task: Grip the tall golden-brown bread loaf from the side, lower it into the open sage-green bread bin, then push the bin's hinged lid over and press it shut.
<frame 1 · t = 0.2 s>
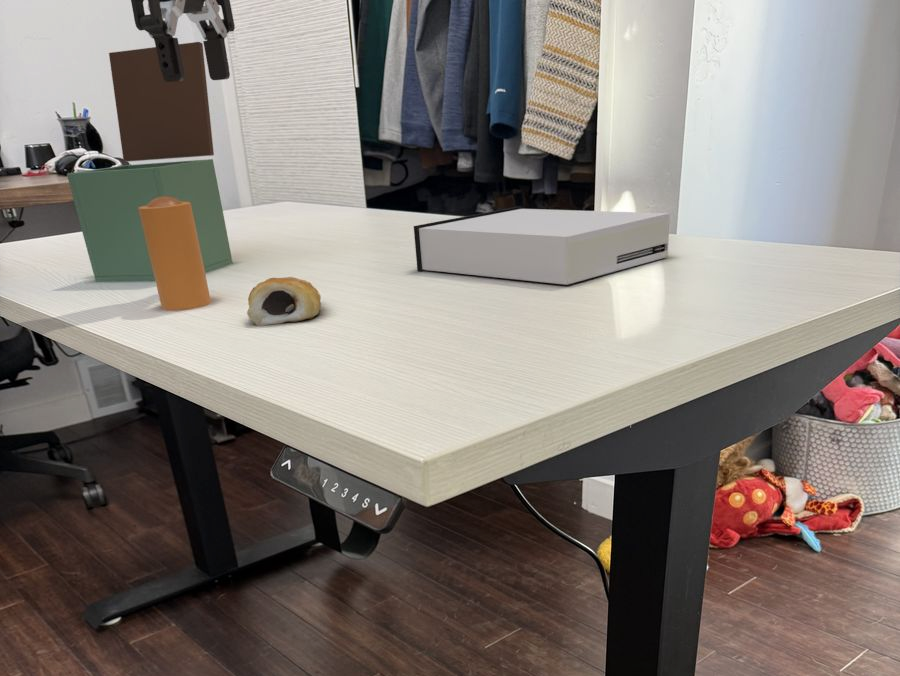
hand: (198, 80, 92), 21 cm above the table, tool pointing down, fingers open, 8 cm apart
disc drive: (539, 267, 98), on the table
pastry: (287, 318, 84), on the table
bread bin: (165, 273, 114), on the table
bin lid: (161, 104, 110), point 19 cm above the table, hinge at 100.0°
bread: (186, 306, 93), on the table
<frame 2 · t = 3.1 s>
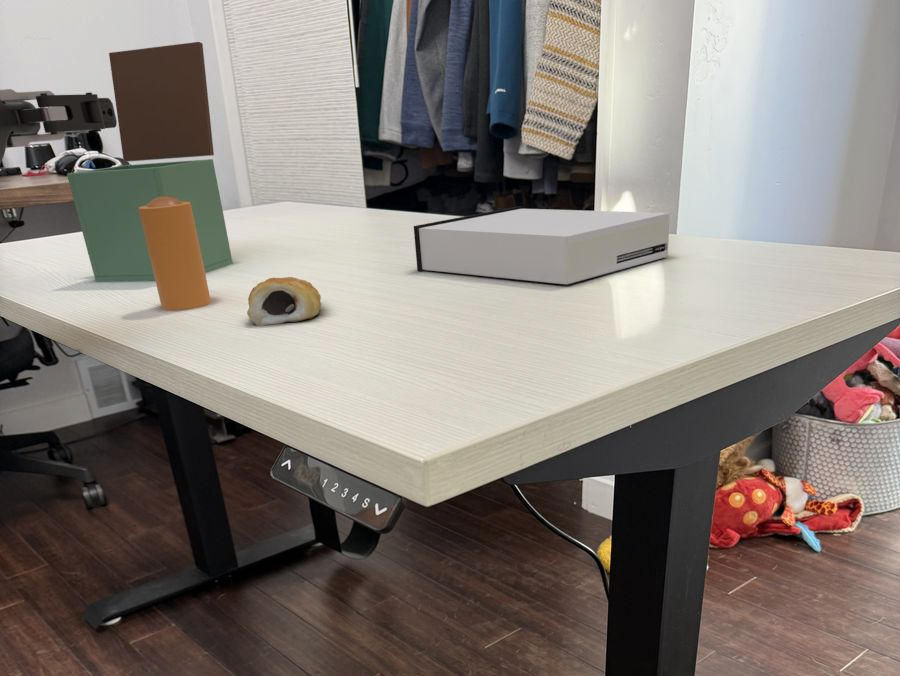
hand: (70, 117, 75), 18 cm above the table, tool horizontal, fingers open, 8 cm apart
nothing on the table moved.
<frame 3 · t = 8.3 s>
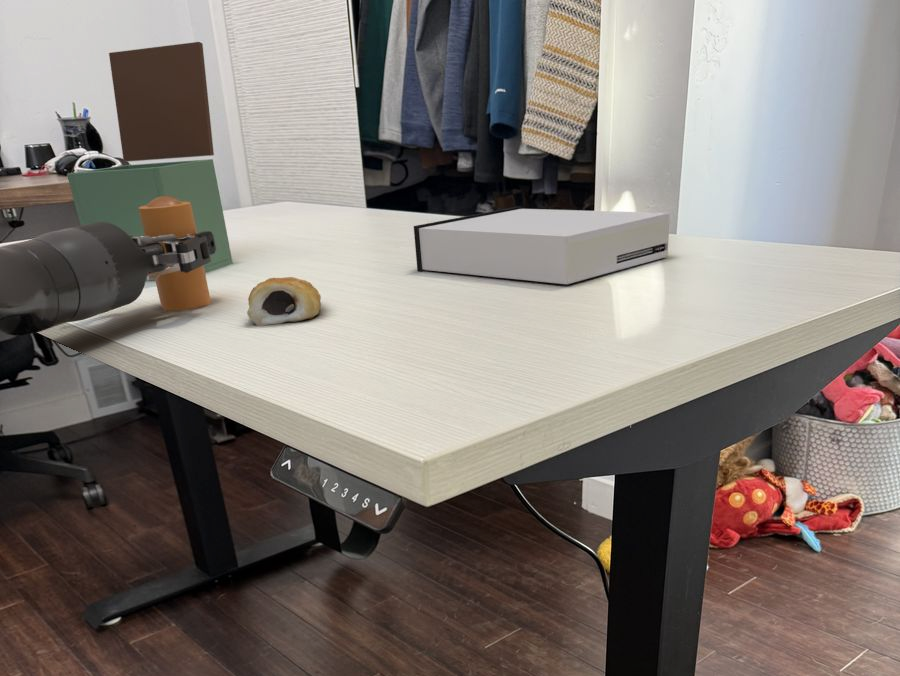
hand: (187, 242, 92), 6 cm above the table, tool horizontal, fingers closed on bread, 5 cm apart
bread: (186, 306, 93), on the table, touching gripper
everything else where it was.
when the fingers open (16 cm above the table, at t = 19.7 s): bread drops 9 cm, resting on bread bin.
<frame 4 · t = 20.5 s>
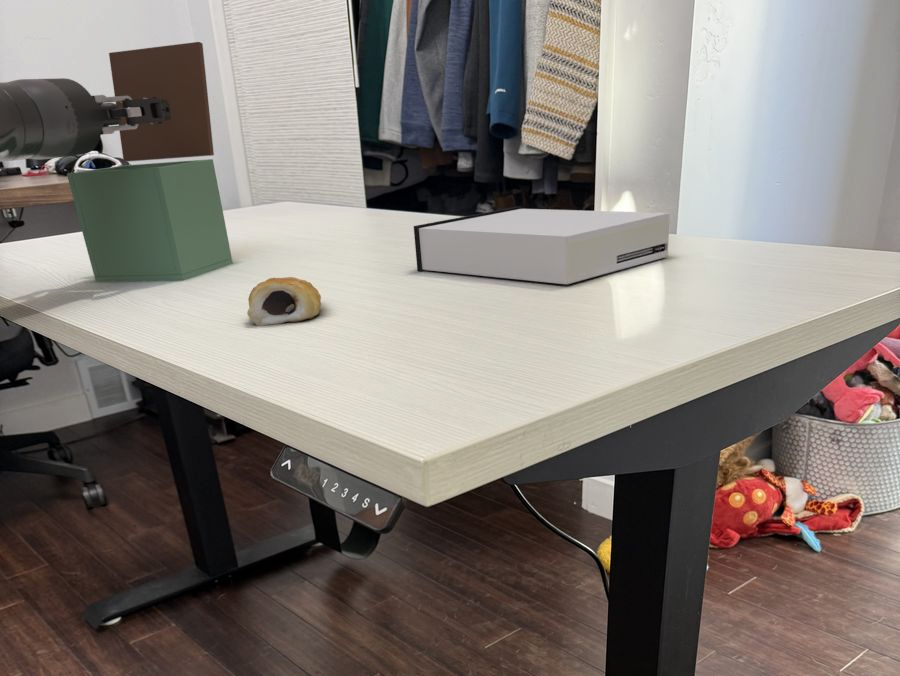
hand: (138, 112, 106), 19 cm above the table, tool horizontal, fingers open, 8 cm apart
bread: (162, 262, 113), point 1 cm above the table, tilted 13°, touching bread bin
everything else where it was.
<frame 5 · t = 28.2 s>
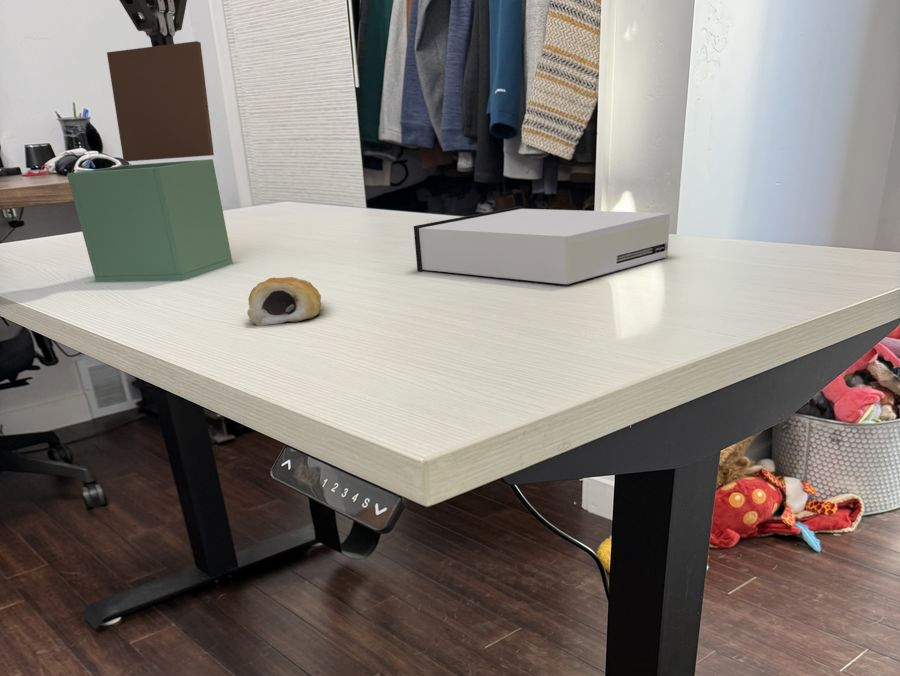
hand: (168, 71, 111), 23 cm above the table, tool pointing down, fingers closed
bin lid: (160, 104, 110), point 19 cm above the table, hinge at 98.1°, touching gripper
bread: (163, 267, 114), point 1 cm above the table, touching bread bin
everything else where it was.
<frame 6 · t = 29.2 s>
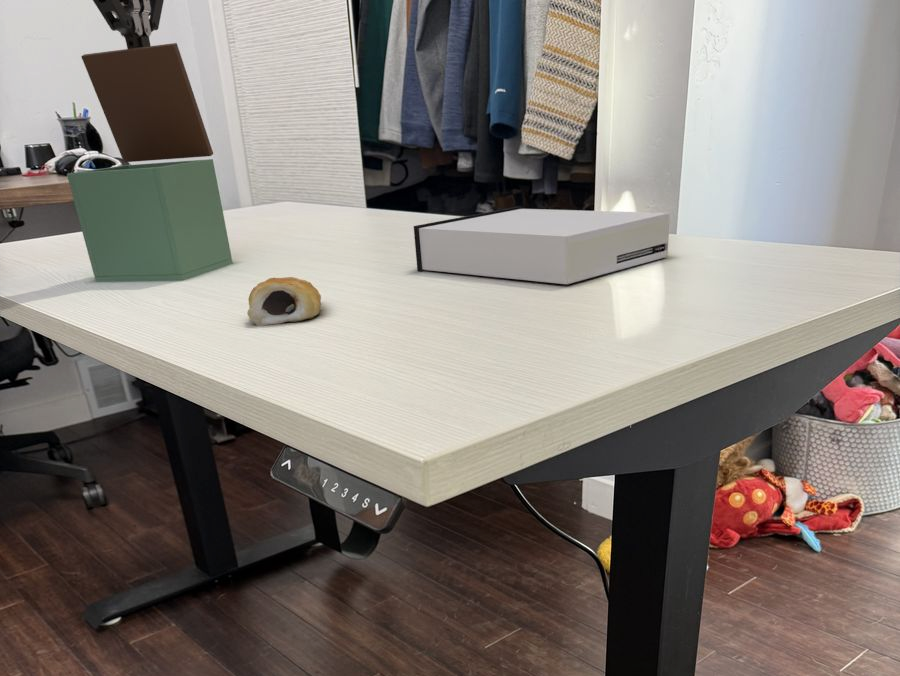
hand: (144, 72, 107), 23 cm above the table, tool pointing down, fingers closed
bin lid: (148, 106, 108), point 19 cm above the table, hinge at 74.5°, touching gripper
everything else where it was.
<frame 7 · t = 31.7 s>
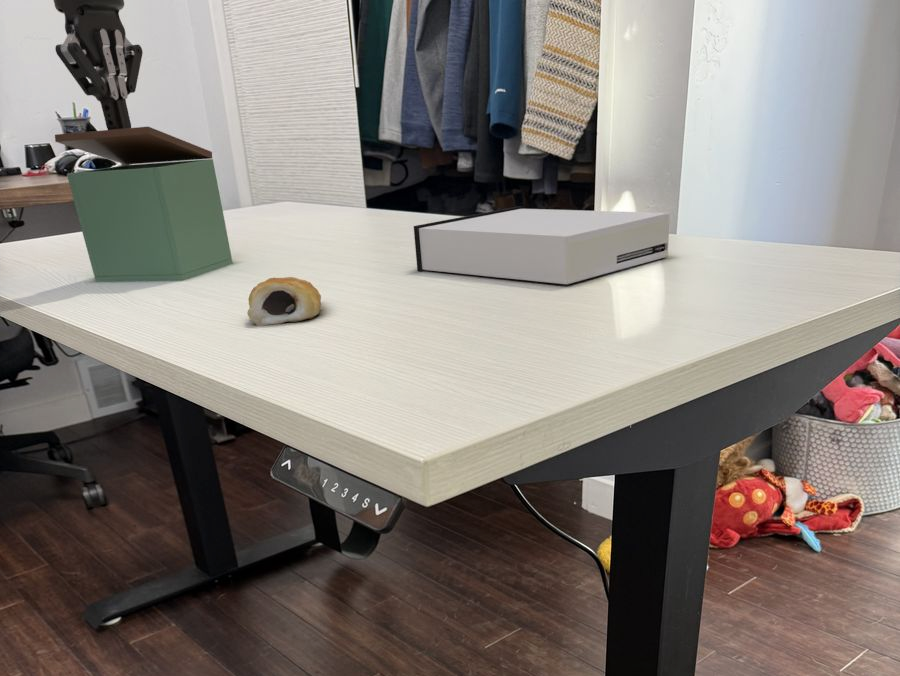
hand: (121, 136, 104), 16 cm above the table, tool pointing down, fingers closed
bin lid: (136, 146, 106), point 15 cm above the table, hinge at 15.9°, touching gripper
everything else where it was.
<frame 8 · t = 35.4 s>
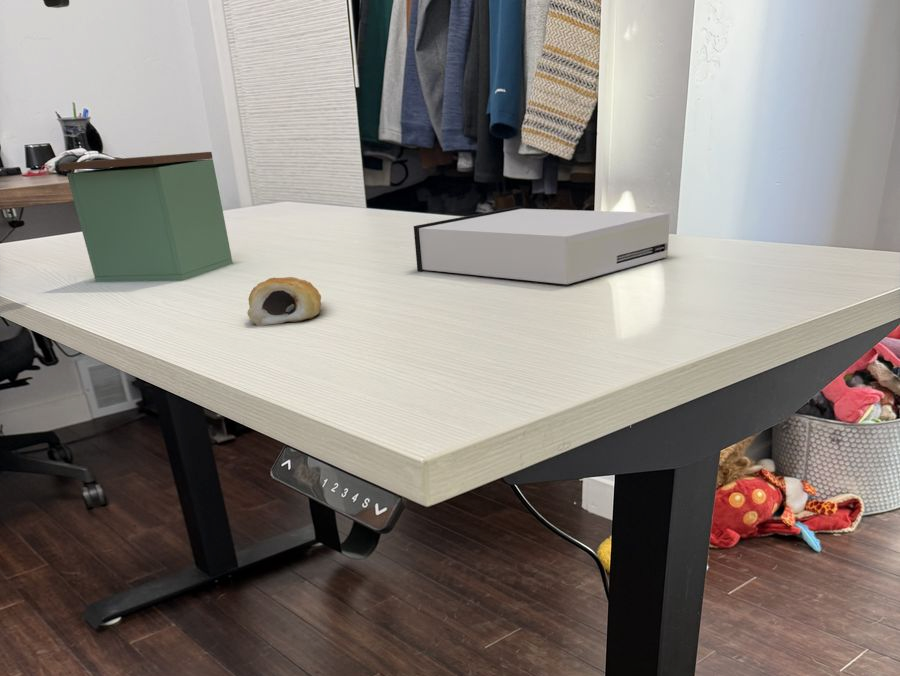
hand: (57, 6, 93), 29 cm above the table, tool pointing down, fingers closed
bin lid: (138, 160, 107), point 13 cm above the table, hinge at 1.6°
everything else where it was.
at the end: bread inside the target area in the bread bin (0.1 cm from its centre), point 0.8 cm above the bread bin's base; bin lid at +2° (first picture: +100°); the gripper is holding nothing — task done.
